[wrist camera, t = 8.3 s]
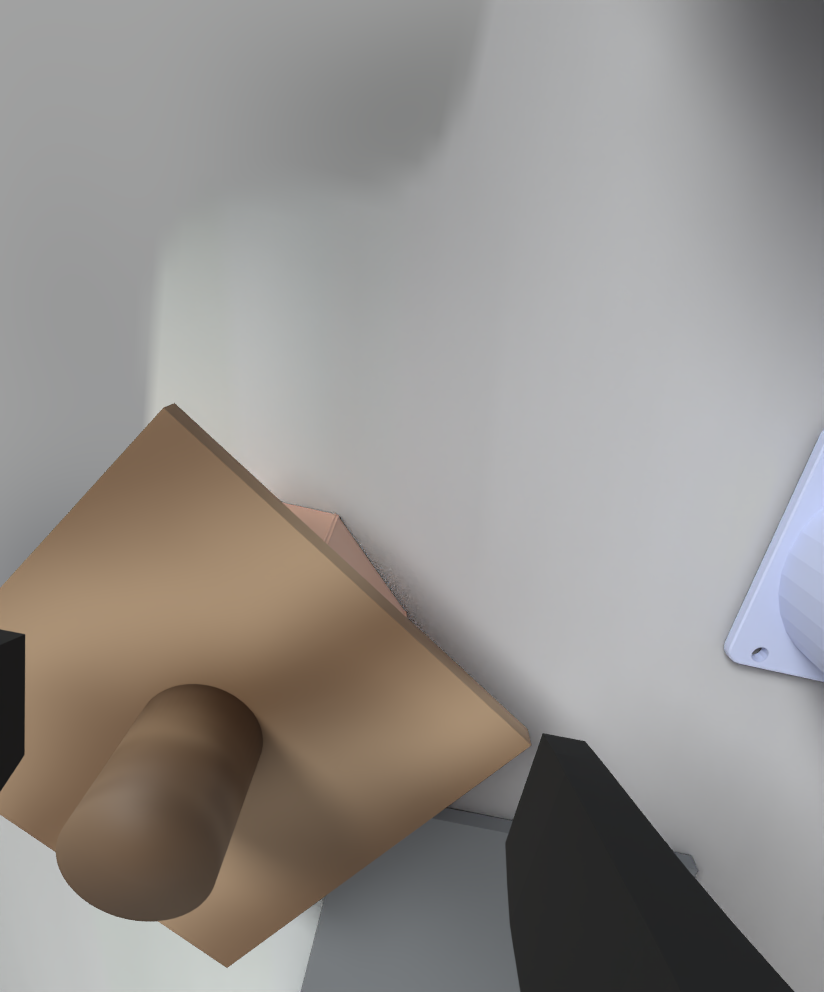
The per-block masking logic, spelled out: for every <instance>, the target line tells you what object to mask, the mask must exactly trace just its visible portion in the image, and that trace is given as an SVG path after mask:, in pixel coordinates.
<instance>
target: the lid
mask: <svg viewBox="0 0 824 992" xmlns="http://www.w3.org/2000/svg"><path fill="white" fill-rule="evenodd" d="M0 629H1V630H6V631H12V632H17V633H22V634H25V755H24V757H23V758H22V760H21V761H20V763H19V764H18V766H17V767H16V769H15V770H14V772H13V773H12V775H11V776H10V778H9V779H8V781H7V782H6V784H5V786H4V787H3V789H2V790H1V792H0V815H2V816H3V817H5V818H6V819H8V820H9V821H10V822H12V823H13V824H15V825H16V826H18V827H19V828H21V829H22V830H24V831H25V832H27V833H28V834H30V835H31V836H33V837H34V838H36V839H37V840H39V841H40V842H42V843H43V844H45V845H46V846H47V847H49V848H50V849H52V850H53V851H55V852H56V858H57V863H58V866H59V869H60V871H61V873H62V875H63V877H64V879H65V880H66V882H67V883H68V885H69V886H70V887H71V888H72V889H73V890H74V891H75V892H76V893H77V894H78V895H79V896H80V897H81V898H82V899H84V900H85V901H86V902H88V903H89V904H91V905H93V906H94V907H96V908H98V909H100V910H102V911H104V912H106V913H109V914H111V915H114V916H117V917H121V918H125V919H129V920H135V921H158V922H160V923H161V924H163V925H164V926H166V927H167V928H169V929H170V930H172V931H173V932H175V933H176V934H178V935H179V936H181V937H182V938H183V939H185V940H186V941H188V942H189V943H191V944H192V945H194V946H195V947H197V948H198V949H200V950H201V951H203V952H204V953H206V954H207V955H209V956H210V957H212V958H213V959H215V960H216V961H217V962H219V963H220V964H222V965H223V966H225V967H226V968H228V967H229V966H230V965H232V964H233V963H234V962H236V961H237V960H239V959H240V958H241V957H243V956H244V955H245V954H247V953H248V952H249V951H251V950H252V949H254V948H255V947H256V946H258V945H259V944H260V943H262V942H263V941H265V940H266V939H267V938H269V937H270V936H271V935H273V934H274V933H275V932H277V931H278V930H280V929H281V928H282V927H284V926H285V925H286V924H288V923H289V922H291V921H292V920H293V919H295V918H296V917H297V916H299V915H300V914H301V913H303V912H304V911H306V910H307V909H308V908H310V907H311V906H312V905H314V904H315V903H316V902H318V901H319V900H321V899H322V898H323V897H325V896H326V895H327V894H329V893H330V892H332V891H333V890H334V889H336V888H337V887H338V886H340V885H341V884H342V883H344V882H345V881H347V880H348V879H349V878H351V877H352V876H353V875H355V874H356V873H358V872H359V871H360V870H362V869H363V868H364V867H366V866H367V865H368V864H370V863H371V862H373V861H374V860H375V859H377V858H378V857H379V856H381V855H382V854H383V853H385V852H386V851H388V850H389V849H390V848H392V847H393V846H394V845H396V844H397V843H399V842H400V841H401V840H403V839H404V838H405V837H407V836H408V835H409V834H411V833H412V832H414V831H415V830H416V829H418V828H419V827H420V826H422V825H423V824H425V823H426V822H427V821H429V820H430V819H431V818H433V817H434V816H435V815H437V814H438V813H440V812H441V811H442V810H444V809H445V808H446V807H448V806H449V805H451V804H452V803H453V802H455V801H456V800H457V799H459V798H460V797H461V796H463V795H464V794H466V793H467V792H468V791H470V790H471V789H472V788H474V787H475V786H476V785H478V784H479V783H481V782H482V781H483V780H485V779H486V778H487V777H489V776H490V775H492V774H493V773H494V772H496V771H497V770H498V769H500V768H501V767H502V766H504V765H505V764H507V763H508V762H509V761H511V760H512V759H513V758H515V757H516V756H518V755H519V754H520V753H522V752H523V751H524V750H526V749H527V748H528V747H530V746H531V741H530V737H529V733H528V729H527V728H526V727H525V726H524V725H522V724H521V723H520V722H519V721H518V720H517V719H516V718H515V717H514V716H513V715H512V714H511V713H509V712H508V711H507V710H506V709H505V708H504V707H503V706H502V705H501V704H500V703H499V702H498V701H496V700H495V699H494V698H493V697H492V696H491V695H490V694H489V693H488V692H487V691H486V690H485V689H483V688H482V687H481V686H480V685H479V684H478V683H477V682H476V681H475V680H474V679H473V678H472V677H470V676H469V675H468V674H467V673H466V672H465V671H464V670H463V669H462V668H461V667H460V666H459V665H458V664H456V663H455V662H454V661H453V660H452V659H451V658H450V657H449V656H448V655H447V654H446V653H445V652H443V651H442V650H441V649H440V648H439V647H438V646H437V645H436V644H435V643H434V642H433V641H432V640H430V639H429V638H428V637H427V636H426V635H425V634H424V633H423V632H422V631H421V630H420V629H419V628H417V627H416V626H415V625H414V624H413V623H412V622H411V621H410V620H409V619H408V618H407V617H406V616H404V615H403V614H402V613H401V612H400V611H399V610H398V609H397V608H396V607H395V606H394V605H393V604H391V603H390V602H389V601H388V600H387V599H386V598H385V597H384V596H383V595H382V594H381V593H380V592H378V591H377V590H376V589H375V588H374V587H373V586H372V585H371V584H370V583H369V582H368V581H367V580H365V579H364V578H363V577H362V576H361V575H360V574H359V573H358V572H357V571H356V570H355V569H354V568H353V567H351V566H350V565H349V564H348V563H347V562H346V561H345V560H344V559H343V558H342V557H341V556H340V555H338V554H337V553H336V552H335V551H334V550H333V549H332V548H331V547H330V546H329V545H328V544H327V543H325V542H324V541H323V540H322V539H321V538H320V537H319V536H318V535H317V534H316V533H315V532H314V531H312V530H311V529H310V528H309V527H308V526H307V525H306V524H305V523H304V522H303V521H302V520H301V519H299V518H298V517H297V516H296V515H295V514H294V513H293V512H292V511H291V510H290V509H289V508H288V507H286V506H285V505H284V504H283V503H282V502H281V501H280V500H279V499H278V498H277V497H276V496H275V495H273V494H272V493H271V492H270V491H269V490H268V489H267V488H266V487H265V486H264V485H263V484H262V483H261V482H259V481H258V480H257V479H256V478H255V477H254V476H253V475H252V474H251V473H250V472H249V471H248V470H246V469H245V468H244V467H243V466H242V465H241V464H240V463H239V462H238V461H237V460H236V459H235V458H233V457H232V456H231V455H230V454H229V453H228V452H227V451H226V450H225V449H224V448H223V447H222V446H220V445H219V444H218V443H217V442H216V441H215V440H214V439H213V438H212V437H211V436H210V435H209V434H207V433H206V432H205V431H204V430H203V429H202V428H201V427H200V426H199V425H198V424H197V423H196V422H194V421H193V420H192V419H191V418H190V417H189V416H188V415H187V414H186V413H185V412H184V411H183V410H181V409H180V408H179V407H178V406H177V405H176V404H175V403H174V404H171V405H169V406H167V407H164V408H163V409H162V410H161V411H160V412H159V413H158V414H157V415H156V417H155V418H154V419H153V420H152V421H151V422H150V423H149V424H148V425H147V427H146V428H145V429H144V430H143V431H142V432H141V433H140V434H139V436H138V437H137V438H136V439H135V440H134V441H133V442H132V443H131V444H130V445H129V446H128V448H127V449H126V450H125V451H124V452H123V453H122V454H121V455H120V456H119V457H118V459H117V460H116V461H115V462H114V463H113V464H112V465H111V467H109V468H108V470H107V471H106V472H105V473H104V474H103V475H102V476H101V477H100V479H99V480H98V481H97V482H96V483H95V484H94V485H93V486H92V487H91V488H90V489H89V491H88V492H87V493H86V494H85V495H84V496H83V497H82V498H81V499H80V501H79V502H78V503H77V504H76V505H75V506H74V507H73V508H72V509H71V511H70V512H69V513H68V514H67V515H66V516H65V517H64V518H63V519H62V520H61V522H60V523H59V524H58V525H57V526H56V527H55V528H54V529H53V530H52V531H51V533H50V534H49V535H48V536H47V537H46V538H45V539H44V540H43V541H42V542H41V544H40V545H39V546H38V547H37V548H36V549H35V550H34V551H33V552H32V553H31V555H30V556H29V557H28V558H27V559H26V560H25V561H24V562H23V563H22V565H21V566H20V567H19V568H18V569H17V570H16V571H15V572H14V573H13V574H12V576H11V577H10V578H9V579H8V580H7V581H6V582H5V583H4V584H3V586H2V587H1V588H0Z"/></svg>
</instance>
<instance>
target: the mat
mask: <svg viewBox="0 0 824 992" xmlns="http://www.w3.org/2000/svg"><path fill="white" fill-rule="evenodd" d="M512 822H513V821H512V820H507V819H501V818H496V817H491V816H486V815H481V814H476V813H471V812H465V811H460V810H455V809H450V808H445V809H444V810H442V811H441V812H440V813H438V814H437V815H435V816H434V817H433V818H431V819H430V820H429V821H427V822H426V823H425V824H423V825H422V826H420V827H419V828H418V829H416V830H415V831H414V832H412V833H411V834H409V835H408V836H407V837H405V838H404V839H403V840H401V841H400V842H399V843H397V844H396V845H394V846H393V847H392V848H390V849H389V850H388V851H386V852H385V853H383V854H382V855H381V856H379V857H378V858H377V859H375V860H374V861H373V862H371V863H370V864H368V865H367V866H366V867H364V868H363V869H362V870H360V871H359V872H358V873H356V874H355V875H353V876H352V877H351V878H349V879H348V880H347V881H345V882H344V883H342V884H341V885H340V886H338V887H337V888H336V889H334V890H333V891H332V892H330V893H329V894H327V895H326V896H325V898H324V902H323V906H322V910H321V914H320V918H319V922H318V926H317V930H316V934H315V938H314V942H313V946H312V950H311V953H310V957H309V961H308V965H307V969H306V973H305V977H304V981H303V985H302V989H301V992H520V987H519V981H518V974H517V968H516V962H515V956H514V949H513V943H512V936H511V929H510V921H509V906H508V891H507V871H506V849H505V842H506V839H507V836H508V833H509V830H510V827H511V825H512ZM674 853H675V854H676V856H677V857H678V858H679V859H680V860H681V862H682V863H683V864H684V865H685V867H686V868H687V869H688V870H689V871H690V873H691V874H692V875H693V876H694V877H695V876H696V874H697V872H698V868H697V866H696V864H695V862H694V860H693V858H692V856H691V855H686V854H681V853H676V852H674Z"/></svg>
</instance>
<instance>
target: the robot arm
mask: <svg viewBox="0 0 824 992" xmlns="http://www.w3.org/2000/svg"><path fill="white" fill-rule="evenodd" d="M759 647H762V648H761V650H760V651H759V653H756V654H754V655H752V652H753V651H754V650H755V649H757V648H759ZM724 650H725V653H726V654H727V655H728V656H729V657H730V659H731V660H732V661H733V662H736V663H738V664H742V665H747V666H752V667H756V668H761V669H765V670H770V671H775V672H779V673H784V674H789V675H793V676H798V677H803V678H807V679H812V680H817V681H821V682H824V430H823V431H822V432H821V434H820V436H819V438H818V440H817V443H816V445H815V447H814V449H813V451H812V453H811V456H810V458H809V460H808V462H807V464H806V467H805V469H804V471H803V473H802V475H801V477H800V480H799V482H798V484H797V486H796V488H795V491H794V493H793V495H792V497H791V499H790V501H789V504H788V506H787V508H786V510H785V512H784V515H783V517H782V519H781V521H780V523H779V525H778V528H777V530H776V532H775V534H774V536H773V538H772V541H771V543H770V545H769V547H768V549H767V552H766V554H765V556H764V558H763V560H762V562H761V565H760V567H759V569H758V571H757V573H756V576H755V578H754V580H753V582H752V584H751V586H750V589H749V591H748V593H747V595H746V597H745V600H744V602H743V604H742V606H741V608H740V610H739V613H738V615H737V617H736V619H735V621H734V624H733V626H732V628H731V630H730V632H729V634H728V637H727V639H726V641H725V644H724ZM24 755H25V634H22V633H17V632H12V631H6V630H1V629H0V792H1V790H2V789H3V787H4V786H5V784H6V782H7V781H8V779H9V778H10V776H11V775H12V773H13V772H14V770H15V769H16V767H17V766H18V764H19V763H20V761H21V760H22V758H23V757H24ZM505 849H506V871H507V891H508V906H509V921H510V929H511V936H512V943H513V949H514V956H515V962H516V968H517V974H518V981H519V987H520V992H794V991H793V990H792V989H791V988H790V986H789V985H788V984H787V983H786V982H785V981H784V980H783V979H782V978H781V976H780V975H779V974H778V973H777V972H776V971H775V970H774V969H773V967H772V966H771V965H770V964H769V963H768V962H767V961H766V960H765V958H764V957H763V956H762V955H761V954H760V953H759V952H758V951H757V949H756V948H755V947H754V946H753V945H752V944H751V943H750V942H749V941H748V939H747V938H746V937H745V936H744V935H743V934H742V933H741V932H740V930H739V929H738V928H737V927H736V926H735V925H734V924H733V922H732V921H731V920H730V919H729V918H728V917H727V915H726V914H725V913H724V912H723V911H722V910H721V908H720V907H719V906H718V905H717V904H716V902H715V901H714V900H713V899H712V898H711V897H710V895H709V894H708V893H707V892H706V891H705V889H704V888H703V887H702V886H701V885H700V883H699V882H698V881H697V880H696V879H695V877H694V876H693V875H692V874H691V873H690V871H689V870H688V869H687V868H686V867H685V865H684V864H683V863H682V862H681V860H680V859H679V858H678V857H677V856H676V854H675V853H674V852H673V851H672V849H671V848H670V847H669V846H668V844H667V843H666V842H665V841H664V839H663V838H662V837H661V836H660V834H659V833H658V832H657V831H656V829H655V828H654V827H653V826H652V824H651V823H650V822H649V821H648V819H647V818H646V817H645V816H644V814H643V813H642V812H641V811H640V809H639V808H638V807H637V805H636V804H635V803H634V802H633V800H632V799H631V798H630V797H629V795H628V794H627V793H626V792H625V790H624V789H623V788H622V786H621V785H620V784H619V783H618V781H617V780H616V779H615V778H614V776H613V775H612V774H611V773H610V771H609V770H608V769H607V767H606V766H605V765H604V764H603V762H602V761H601V760H600V759H599V758H598V756H597V755H596V754H595V753H594V751H593V750H592V749H591V748H590V747H589V746H588V744H587V743H586V742H585V741H580V740H575V739H570V738H565V737H559V736H554V735H549V734H544V733H543V734H542V737H541V740H540V743H539V746H538V749H537V752H536V755H535V758H534V761H533V763H532V766H531V769H530V772H529V775H528V778H527V781H526V784H525V787H524V790H523V793H522V795H521V798H520V801H519V804H518V807H517V810H516V813H515V816H514V819H513V822H512V825H511V827H510V830H509V833H508V836H507V839H506V842H505Z"/></svg>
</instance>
